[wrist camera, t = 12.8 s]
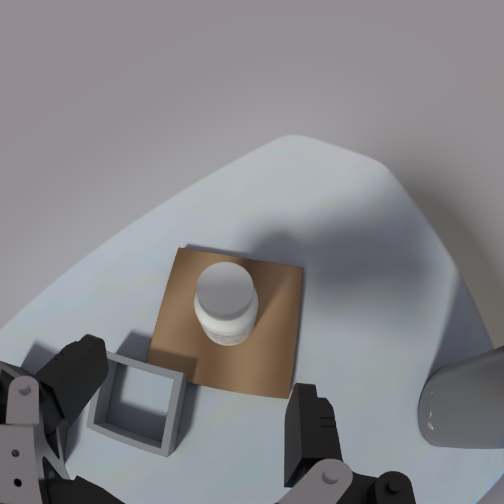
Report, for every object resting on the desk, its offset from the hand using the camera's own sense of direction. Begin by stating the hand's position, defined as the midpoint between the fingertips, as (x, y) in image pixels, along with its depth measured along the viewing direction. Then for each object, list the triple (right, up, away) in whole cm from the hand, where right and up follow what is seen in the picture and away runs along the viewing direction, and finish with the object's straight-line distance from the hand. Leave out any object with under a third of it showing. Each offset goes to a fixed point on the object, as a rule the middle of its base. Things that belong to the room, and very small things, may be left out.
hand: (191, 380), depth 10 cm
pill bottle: (0, -1, +13) cm, 13 cm away
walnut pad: (0, -1, +14) cm, 14 cm away
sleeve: (-7, -8, +10) cm, 14 cm away
